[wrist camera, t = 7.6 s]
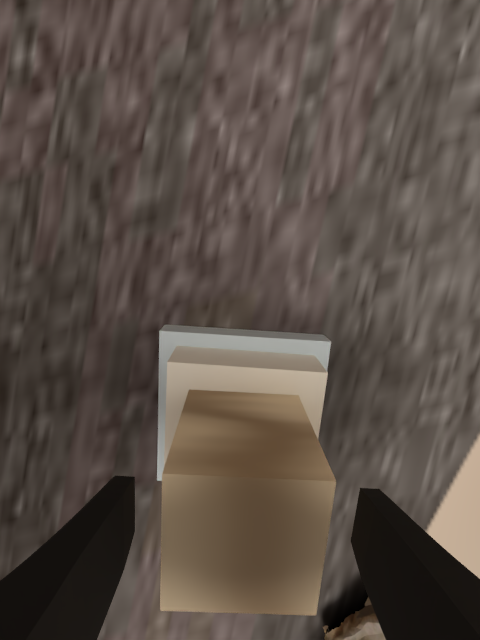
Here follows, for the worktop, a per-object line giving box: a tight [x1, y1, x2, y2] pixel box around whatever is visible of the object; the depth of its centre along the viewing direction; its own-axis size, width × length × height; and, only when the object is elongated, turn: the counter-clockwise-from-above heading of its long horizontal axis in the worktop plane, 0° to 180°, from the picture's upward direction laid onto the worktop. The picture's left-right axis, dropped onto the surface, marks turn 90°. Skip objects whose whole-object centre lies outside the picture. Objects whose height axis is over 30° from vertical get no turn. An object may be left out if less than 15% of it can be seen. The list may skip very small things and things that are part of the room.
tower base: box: [157, 324, 331, 481], centre depth 17 cm, size 8×8×2 cm
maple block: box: [160, 390, 336, 615], centre depth 11 cm, size 4×4×5 cm
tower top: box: [164, 346, 328, 466], centre depth 15 cm, size 6×6×2 cm
